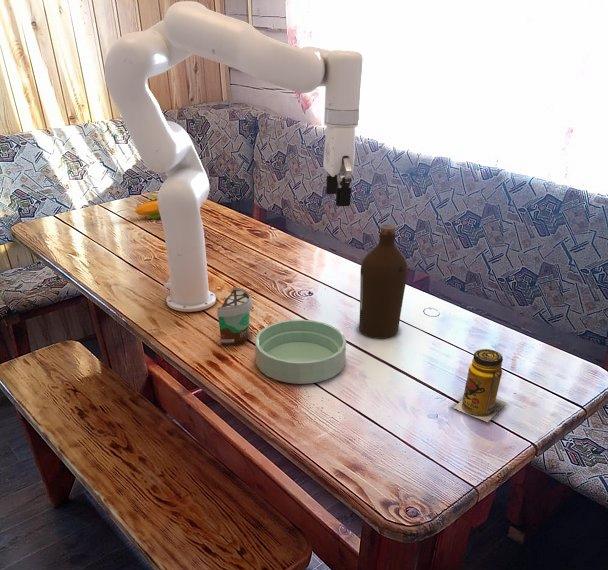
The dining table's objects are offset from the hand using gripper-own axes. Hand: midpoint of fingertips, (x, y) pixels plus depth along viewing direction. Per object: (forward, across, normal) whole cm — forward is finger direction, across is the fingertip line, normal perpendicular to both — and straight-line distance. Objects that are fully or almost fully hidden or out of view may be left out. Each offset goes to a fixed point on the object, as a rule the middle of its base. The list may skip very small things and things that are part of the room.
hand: (337, 199), depth 135 cm
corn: (+29, -85, -43) cm, 99 cm away
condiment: (+28, +47, +19) cm, 58 cm away
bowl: (+28, +24, -13) cm, 39 cm away
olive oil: (+28, +12, +9) cm, 32 cm away
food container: (+28, +11, -24) cm, 39 cm away
